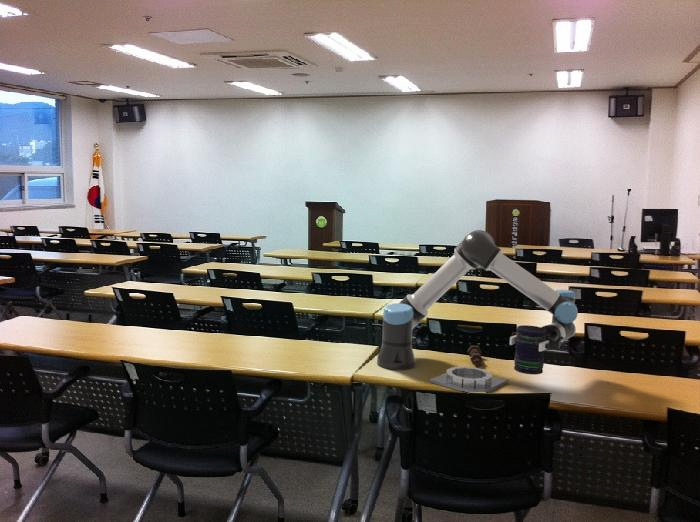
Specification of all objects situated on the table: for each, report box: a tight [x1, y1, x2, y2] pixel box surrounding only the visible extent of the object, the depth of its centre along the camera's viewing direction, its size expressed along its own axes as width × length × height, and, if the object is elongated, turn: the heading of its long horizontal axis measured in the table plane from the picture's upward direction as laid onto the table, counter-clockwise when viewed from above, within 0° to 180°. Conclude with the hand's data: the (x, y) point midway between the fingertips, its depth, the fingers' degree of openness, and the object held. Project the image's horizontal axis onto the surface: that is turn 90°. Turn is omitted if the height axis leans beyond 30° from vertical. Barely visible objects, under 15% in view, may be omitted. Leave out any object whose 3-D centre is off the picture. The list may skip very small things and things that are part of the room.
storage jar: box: [513, 324, 546, 376], centre depth 199 cm, size 10×10×15 cm
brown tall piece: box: [466, 345, 484, 367], centre depth 233 cm, size 6×5×15 cm
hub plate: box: [429, 366, 508, 393], centre depth 206 cm, size 20×20×4 cm
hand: (525, 344), depth 195 cm, fingers closed on storage jar, 10 cm apart
